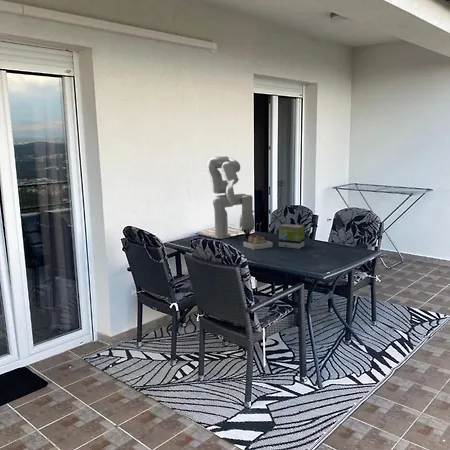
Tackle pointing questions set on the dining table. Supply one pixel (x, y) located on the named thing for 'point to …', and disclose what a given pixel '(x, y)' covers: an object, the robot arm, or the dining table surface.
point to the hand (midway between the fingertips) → (247, 238)
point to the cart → (256, 240)
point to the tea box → (291, 236)
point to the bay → (258, 245)
